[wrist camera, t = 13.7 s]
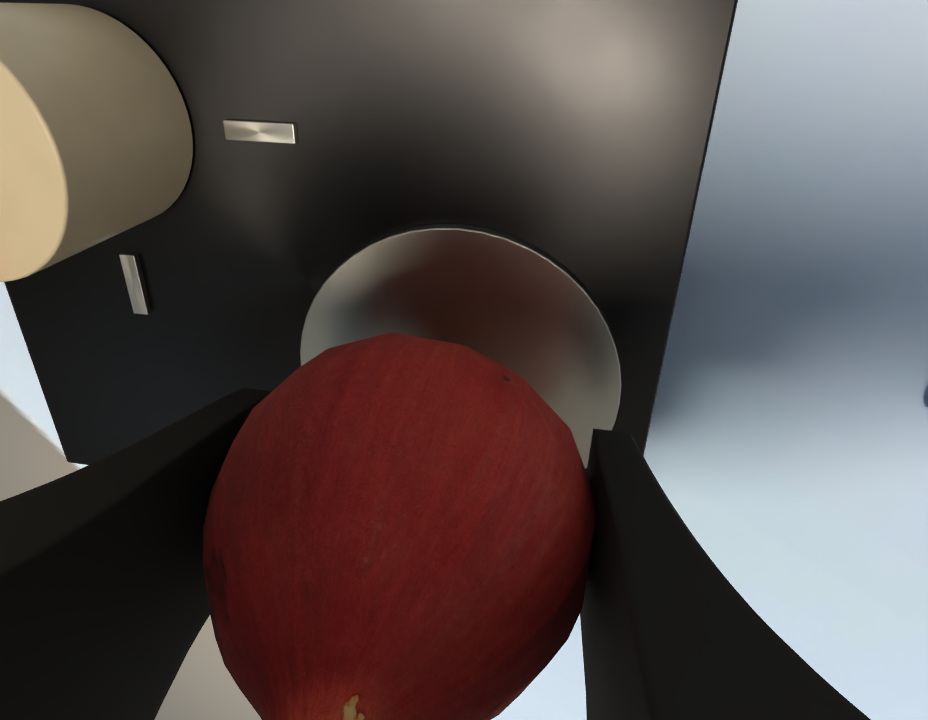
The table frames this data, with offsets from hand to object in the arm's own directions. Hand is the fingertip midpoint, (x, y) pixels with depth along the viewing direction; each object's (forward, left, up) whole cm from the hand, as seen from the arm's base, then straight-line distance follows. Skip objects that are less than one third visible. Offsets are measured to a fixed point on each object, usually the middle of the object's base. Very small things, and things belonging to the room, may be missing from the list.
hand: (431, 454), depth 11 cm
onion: (0, 0, -2) cm, 2 cm away
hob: (+3, -2, -5) cm, 6 cm away
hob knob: (+7, -5, -3) cm, 9 cm away
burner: (0, 0, -3) cm, 3 cm away
